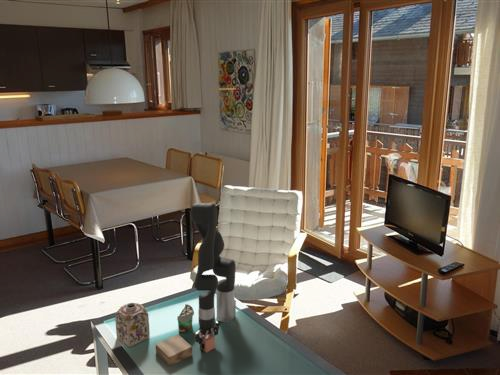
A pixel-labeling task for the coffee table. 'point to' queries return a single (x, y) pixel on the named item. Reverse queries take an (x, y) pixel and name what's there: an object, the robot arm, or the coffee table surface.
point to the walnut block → (174, 350)
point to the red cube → (209, 343)
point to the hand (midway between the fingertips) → (207, 346)
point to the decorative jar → (132, 324)
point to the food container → (185, 319)
